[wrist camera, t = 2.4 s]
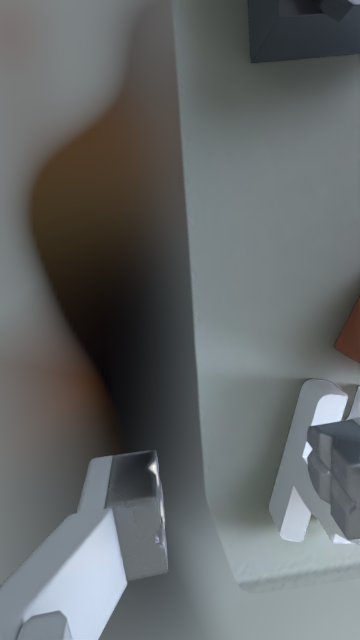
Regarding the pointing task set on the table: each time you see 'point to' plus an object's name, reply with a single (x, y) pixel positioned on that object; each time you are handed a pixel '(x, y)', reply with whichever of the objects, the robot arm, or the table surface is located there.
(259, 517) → the table surface
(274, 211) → the table surface
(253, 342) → the table surface
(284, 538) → the tape dispenser
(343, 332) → the orange push button block
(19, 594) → the robot arm
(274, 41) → the grey push button box
